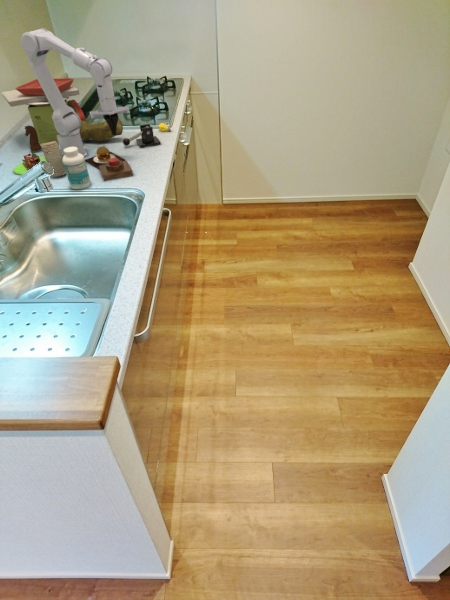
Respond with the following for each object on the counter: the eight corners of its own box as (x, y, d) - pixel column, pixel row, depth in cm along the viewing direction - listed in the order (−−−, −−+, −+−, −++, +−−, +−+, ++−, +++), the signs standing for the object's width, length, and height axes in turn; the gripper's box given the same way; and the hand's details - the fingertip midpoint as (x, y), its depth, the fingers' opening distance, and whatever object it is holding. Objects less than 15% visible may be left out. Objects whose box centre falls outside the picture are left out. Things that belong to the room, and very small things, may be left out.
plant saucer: (16, 96, 165) (13, 87, 163) (38, 86, 179) (36, 78, 176) (57, 96, 162) (54, 87, 160) (76, 86, 176) (74, 78, 174)
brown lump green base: (35, 178, 152) (29, 163, 147) (8, 171, 157) (1, 156, 153) (63, 163, 161) (59, 148, 157) (37, 157, 167) (31, 142, 162)
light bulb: (156, 130, 186) (159, 127, 188) (169, 135, 186) (171, 132, 189) (157, 123, 184) (160, 121, 186) (170, 128, 184) (172, 125, 186)
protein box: (74, 140, 180) (64, 104, 170) (39, 144, 178) (26, 107, 167) (76, 133, 188) (66, 97, 177) (42, 136, 185) (30, 100, 175)
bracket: (140, 148, 172) (137, 130, 167) (136, 141, 178) (133, 124, 173) (160, 144, 174) (158, 127, 170) (156, 138, 180) (153, 121, 175)
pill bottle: (72, 181, 149) (61, 145, 140) (92, 180, 149) (83, 144, 140) (68, 190, 143) (57, 153, 134) (89, 189, 144) (79, 152, 135)
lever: (125, 147, 172) (122, 141, 170) (124, 145, 174) (121, 139, 172) (151, 133, 172) (148, 126, 170) (150, 130, 175) (146, 124, 172)
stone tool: (81, 133, 183) (79, 147, 177) (74, 115, 175) (72, 129, 170) (125, 130, 184) (125, 143, 179) (121, 112, 176) (120, 125, 171)
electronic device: (10, 107, 162) (9, 101, 160) (1, 94, 174) (-1, 89, 173) (80, 94, 173) (79, 89, 171) (66, 83, 185) (65, 79, 184)
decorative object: (81, 139, 184) (70, 127, 192) (89, 137, 185) (77, 126, 194) (74, 109, 174) (62, 98, 182) (82, 107, 175) (70, 96, 184)
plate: (62, 107, 165) (61, 103, 164) (12, 108, 165) (10, 104, 164) (76, 94, 181) (75, 90, 180) (30, 95, 181) (29, 91, 180)
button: (110, 166, 150) (109, 162, 148) (108, 163, 152) (107, 158, 151) (120, 165, 150) (119, 160, 149) (118, 161, 153) (117, 157, 152)
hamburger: (110, 152, 169) (107, 139, 165) (125, 160, 162) (122, 147, 159) (84, 160, 163) (81, 147, 160) (99, 169, 157) (95, 155, 153)
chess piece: (29, 151, 172) (19, 127, 167) (39, 148, 175) (30, 123, 170) (34, 152, 170) (24, 127, 164) (45, 148, 173) (35, 124, 167)
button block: (104, 181, 149) (101, 170, 146) (99, 170, 156) (97, 160, 153) (133, 175, 152) (131, 165, 149) (127, 165, 159) (125, 155, 156)
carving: (51, 178, 149) (39, 144, 144) (50, 176, 155) (39, 143, 150) (68, 174, 151) (57, 141, 146) (67, 172, 157) (56, 140, 152)
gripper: (88, 102, 143) (97, 140, 152) (128, 97, 146) (134, 134, 156) (85, 97, 148) (94, 134, 157) (124, 92, 151) (130, 129, 160)
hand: (114, 134), depth 156 cm, fingers closed
